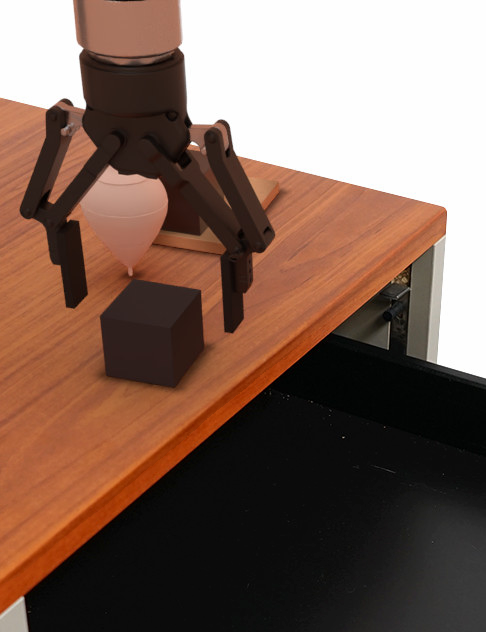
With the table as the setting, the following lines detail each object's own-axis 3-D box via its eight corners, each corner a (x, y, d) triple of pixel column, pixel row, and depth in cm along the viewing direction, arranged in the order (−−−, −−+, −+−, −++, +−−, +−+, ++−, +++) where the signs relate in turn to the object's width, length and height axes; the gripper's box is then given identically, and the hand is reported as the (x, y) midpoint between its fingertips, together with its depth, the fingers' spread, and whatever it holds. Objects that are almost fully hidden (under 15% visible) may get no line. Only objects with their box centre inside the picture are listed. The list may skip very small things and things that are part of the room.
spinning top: (111, 251, 132) (99, 127, 125) (186, 266, 131) (178, 141, 123) (73, 285, 126) (58, 157, 119) (150, 301, 125) (140, 172, 118)
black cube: (105, 375, 115) (99, 315, 111) (138, 336, 120) (133, 278, 117) (174, 387, 114) (170, 327, 110) (204, 347, 119) (201, 289, 116)
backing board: (110, 236, 135) (103, 170, 130) (170, 175, 147) (166, 112, 143) (228, 255, 133) (225, 188, 129) (279, 192, 145) (278, 129, 141)
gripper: (311, 53, 102) (314, 315, 115) (-6, 12, 105) (32, 271, 118) (280, 86, 96) (287, 357, 110) (-55, 42, 99) (-9, 311, 113)
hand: (155, 313), depth 114 cm, fingers open, 13 cm apart
